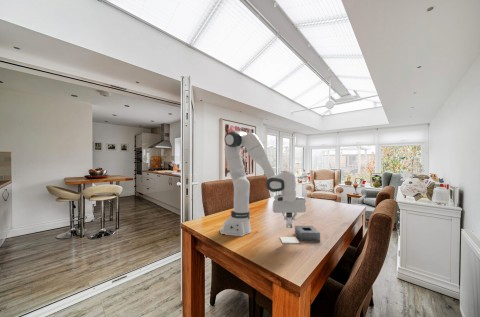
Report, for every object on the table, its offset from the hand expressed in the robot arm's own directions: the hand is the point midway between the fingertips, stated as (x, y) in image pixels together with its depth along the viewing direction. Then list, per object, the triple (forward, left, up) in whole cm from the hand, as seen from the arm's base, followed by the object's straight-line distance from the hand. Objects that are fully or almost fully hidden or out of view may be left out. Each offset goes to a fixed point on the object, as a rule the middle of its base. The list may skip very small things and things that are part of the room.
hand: (289, 219), depth 108 cm
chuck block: (+13, +6, -13) cm, 19 cm away
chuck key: (0, 0, -5) cm, 5 cm away
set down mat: (0, 0, -13) cm, 13 cm away
